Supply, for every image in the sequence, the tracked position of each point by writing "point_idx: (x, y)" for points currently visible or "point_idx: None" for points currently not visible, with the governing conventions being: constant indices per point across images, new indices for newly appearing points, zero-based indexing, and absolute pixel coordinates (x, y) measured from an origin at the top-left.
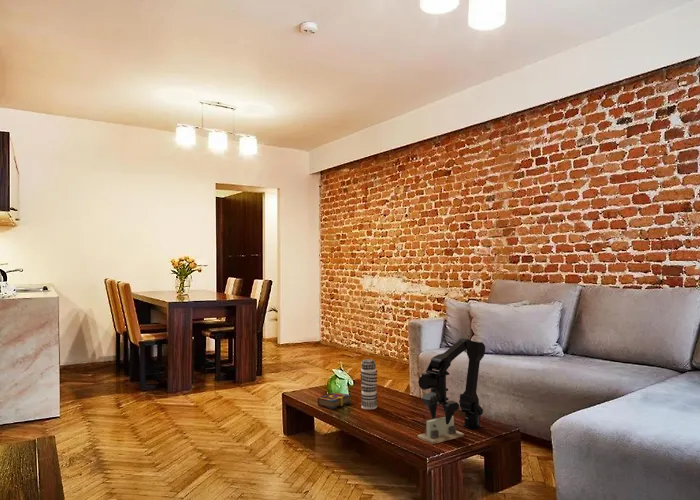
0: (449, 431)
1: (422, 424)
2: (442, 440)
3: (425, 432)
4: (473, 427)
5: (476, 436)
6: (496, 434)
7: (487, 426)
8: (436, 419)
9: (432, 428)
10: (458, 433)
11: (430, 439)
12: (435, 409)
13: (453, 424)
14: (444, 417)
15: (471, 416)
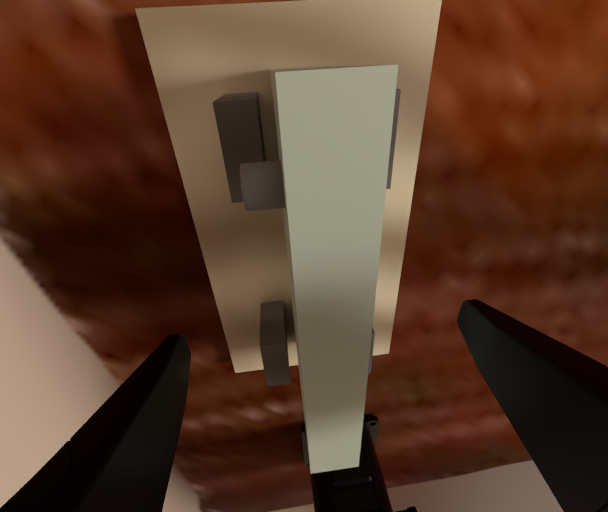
0: (278, 315)
1: (586, 257)
2: (184, 178)
3: None
4: None
5: (200, 402)
6: (189, 467)
7: (301, 473)
8: (331, 298)
9: (278, 142)
10: (255, 351)
11: (228, 49)
12: (543, 456)
13: (301, 390)
14: (337, 408)
15: (330, 508)
